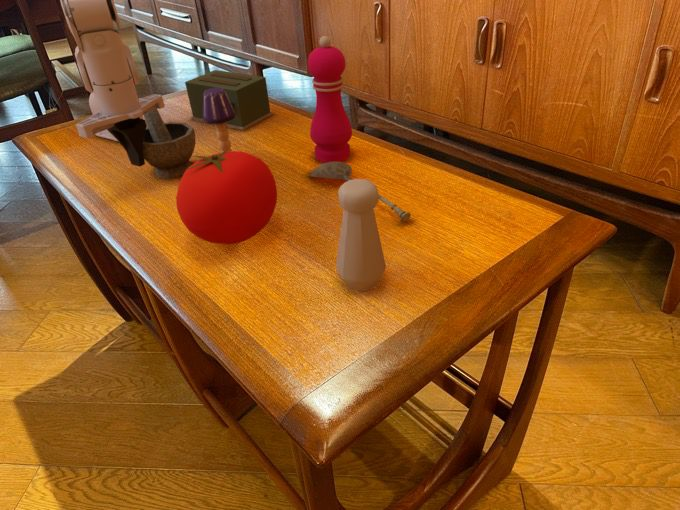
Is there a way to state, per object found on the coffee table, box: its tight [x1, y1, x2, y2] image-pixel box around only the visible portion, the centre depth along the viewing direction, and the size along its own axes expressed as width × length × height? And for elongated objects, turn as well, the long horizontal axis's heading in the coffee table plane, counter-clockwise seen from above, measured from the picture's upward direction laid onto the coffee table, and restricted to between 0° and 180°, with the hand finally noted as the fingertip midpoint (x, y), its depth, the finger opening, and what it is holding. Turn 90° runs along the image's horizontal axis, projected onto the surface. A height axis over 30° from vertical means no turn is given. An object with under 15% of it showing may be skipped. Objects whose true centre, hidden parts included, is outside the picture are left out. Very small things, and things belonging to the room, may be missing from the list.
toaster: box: [184, 69, 273, 131], centre depth 105 cm, size 14×11×8 cm
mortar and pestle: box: [141, 95, 197, 179], centre depth 85 cm, size 11×9×12 cm
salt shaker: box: [335, 178, 387, 293], centre depth 57 cm, size 6×6×13 cm
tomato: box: [175, 149, 278, 245], centre depth 67 cm, size 12×14×12 cm
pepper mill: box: [307, 35, 353, 164], centre depth 83 cm, size 7×7×20 cm
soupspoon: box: [308, 161, 412, 224], centre depth 77 cm, size 22×3×7 cm
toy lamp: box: [203, 88, 236, 153], centre depth 74 cm, size 5×5×17 cm
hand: (138, 164), depth 82 cm, fingers closed
